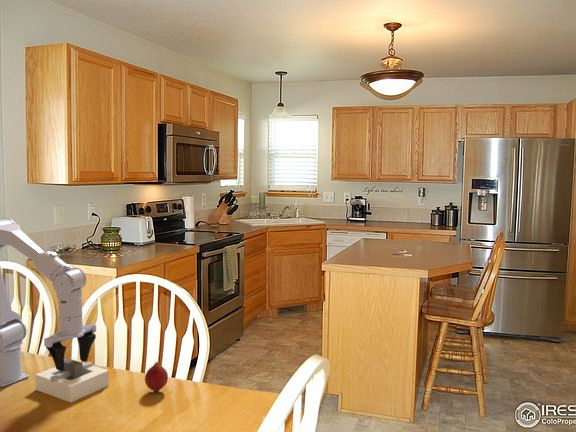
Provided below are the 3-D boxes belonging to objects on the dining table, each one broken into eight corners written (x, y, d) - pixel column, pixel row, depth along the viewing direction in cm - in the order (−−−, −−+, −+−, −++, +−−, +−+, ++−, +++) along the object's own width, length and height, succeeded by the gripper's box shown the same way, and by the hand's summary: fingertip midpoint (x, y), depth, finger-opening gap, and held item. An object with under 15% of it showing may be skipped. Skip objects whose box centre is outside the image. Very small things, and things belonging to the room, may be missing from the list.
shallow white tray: (35, 389, 139) (35, 371, 139) (74, 374, 150) (74, 357, 149) (70, 402, 132) (70, 383, 132) (109, 385, 143) (108, 367, 142)
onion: (162, 397, 136) (161, 367, 135) (141, 395, 137) (140, 365, 136) (171, 388, 142) (171, 359, 141) (151, 385, 143) (151, 357, 142)
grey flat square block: (60, 380, 141) (59, 361, 141) (68, 377, 144) (67, 358, 143) (75, 386, 138) (74, 365, 138) (83, 382, 140) (82, 362, 140)
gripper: (56, 325, 131) (57, 377, 132) (103, 310, 143) (104, 359, 144) (38, 320, 134) (40, 371, 136) (85, 306, 147) (87, 354, 148)
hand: (72, 365), depth 140 cm, fingers open, 7 cm apart
